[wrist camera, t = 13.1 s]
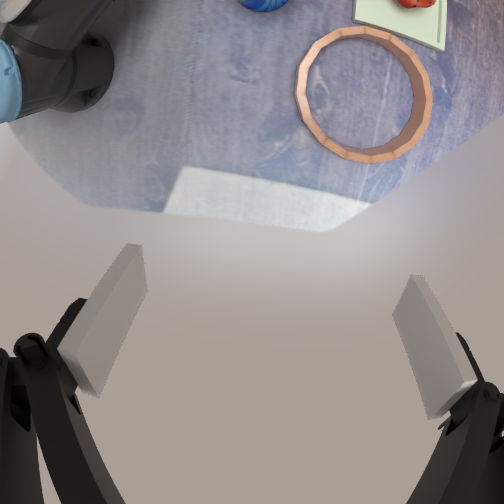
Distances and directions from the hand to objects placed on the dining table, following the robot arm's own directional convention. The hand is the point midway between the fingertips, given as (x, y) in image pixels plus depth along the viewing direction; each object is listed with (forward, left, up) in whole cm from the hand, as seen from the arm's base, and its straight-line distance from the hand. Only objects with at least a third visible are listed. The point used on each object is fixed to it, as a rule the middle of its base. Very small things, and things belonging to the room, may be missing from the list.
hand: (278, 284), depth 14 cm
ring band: (+13, +10, -37) cm, 40 cm away
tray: (+18, +30, -37) cm, 51 cm away
